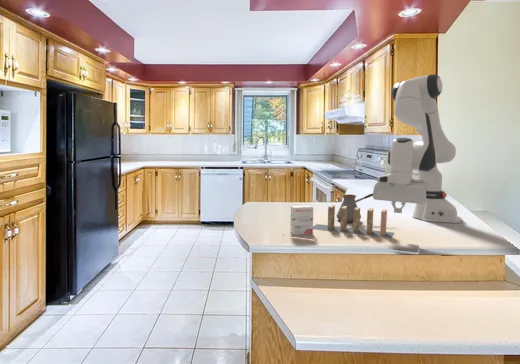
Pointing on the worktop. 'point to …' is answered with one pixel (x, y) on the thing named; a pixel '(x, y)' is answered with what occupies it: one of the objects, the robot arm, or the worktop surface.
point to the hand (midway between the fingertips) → (397, 212)
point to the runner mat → (350, 231)
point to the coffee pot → (350, 206)
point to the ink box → (301, 220)
